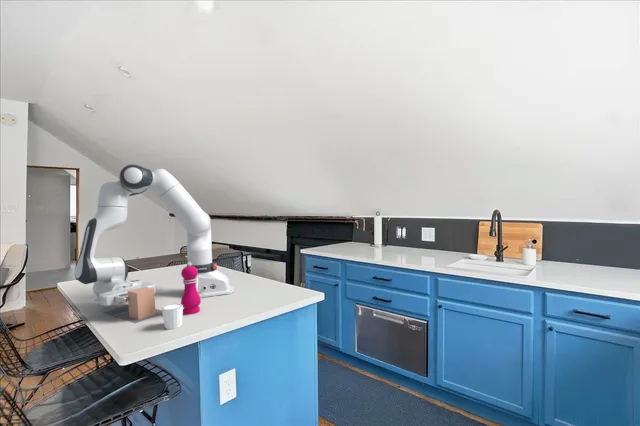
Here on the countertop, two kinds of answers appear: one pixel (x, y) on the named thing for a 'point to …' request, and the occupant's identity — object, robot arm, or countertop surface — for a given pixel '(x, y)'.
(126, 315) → the mat
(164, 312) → the white cup
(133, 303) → the tan rectangular block
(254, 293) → the countertop surface
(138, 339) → the countertop surface
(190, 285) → the pepper mill
